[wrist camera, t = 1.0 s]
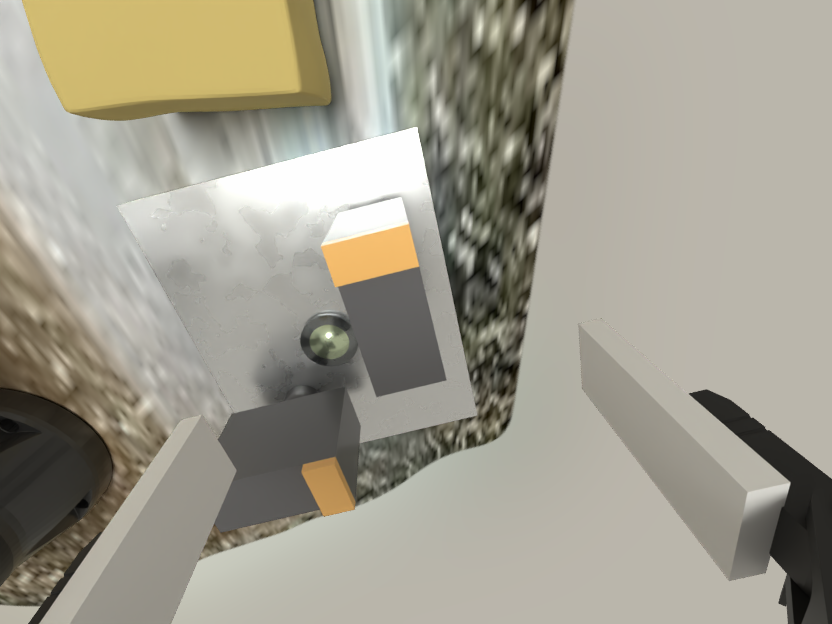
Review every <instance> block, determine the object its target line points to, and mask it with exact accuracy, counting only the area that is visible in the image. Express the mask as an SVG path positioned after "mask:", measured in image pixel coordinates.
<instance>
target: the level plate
mask: <svg viewBox="0 0 832 624" xmlns="http://www.w3.org/2000/svg"><path fill="white" fill-rule="evenodd" d="M399 197H402V201H403V204H404V208H405V212H406V215H407V219H408V222H409V226H410V230H411V234H412V238H413V243H414V247H415V251H416V255H417V259H418V263H419V268H420V272H421V276H422V280H423V284H424V288H425V293H426V297H427V301H428V305H429V309H430V313H431V317H432V321H433V326H434V330H435V334H436V338H437V342H438V346H439V350H440V355H441V359H442V363H443V367H444V371H445V375H446V379H447V380H446V381H442V382H438V383H434V384H430V385H426V386H421V387H417V388H413V389H409V390H405V391H401V392H396V393H392V394H388V395H384V396H380V397H376V394H375V392H374V389H373V386H372V383H371V380H370V377H369V374H368V372H367V369H366V366H365V363H364V360H363V357H362V354H361V351H360V349H359V346H358V343H357V340H356V337H355V334H354V331H353V329H352V326H351V323H350V320H349V317H348V314H347V311H346V308H345V306H344V303H343V300H342V297H341V294H340V291H339V288H338V287H335V286H334V283H333V280H332V277H331V274H330V271H329V269H328V266H327V263H326V260H325V257H324V254H323V251H322V249H321V245H322V243H323V241H324V239H325V237H326V235H327V234H328V232H329V230H330V228H331V226H332V224H333V222H334V220H335V218H336V217H337V215H338V213H340V212H344V211H348V210H352V209H355V208H359V207H363V206H367V205H371V204H375V203H379V202H383V201H387V200H391V199H395V198H399ZM116 206H117V207H118V209H119V211H120V213H121V215H122V216H123V218H124V220H125V222H126V223H127V225H128V227H129V229H130V230H131V232H132V234H133V236H134V238H135V239H136V241H137V243H138V245H139V246H140V248H141V250H142V252H143V253H144V255H145V257H146V259H147V261H148V262H149V264H150V266H151V268H152V269H153V271H154V273H155V275H156V276H157V278H158V280H159V282H160V284H161V285H162V287H163V289H164V291H165V292H166V294H167V296H168V298H169V299H170V301H171V303H172V305H173V306H174V308H175V310H176V312H177V314H178V315H179V317H180V319H181V321H182V322H183V324H184V326H185V328H186V329H187V331H188V333H189V335H190V337H191V338H192V340H193V342H194V344H195V345H196V347H197V349H198V351H199V352H200V354H201V356H202V358H203V360H204V361H205V363H206V365H207V367H208V368H209V370H210V372H211V374H212V375H213V377H214V379H215V381H216V383H217V384H218V386H219V388H220V390H221V391H222V393H223V395H224V397H225V398H226V400H227V402H228V404H229V405H230V407H231V409H232V411H233V413H237V412H241V411H246V410H250V409H254V408H258V407H262V406H266V405H270V404H275V403H279V402H283V401H284V399H285V397H286V394H287V392H288V391H289V390H290V389H291V388H293V387H295V386H299V385H307V386H310V387H313V388H315V389H316V390H317V391H318V392H319V393H320V392H324V391H328V390H333V389H337V388H341V387H345V386H346V389H347V391H348V394H349V396H350V399H351V402H352V404H353V407H354V409H355V412H356V414H357V417H358V420H359V422H360V425H361V430H360V443H363V442H367V441H371V440H376V439H380V438H384V437H388V436H392V435H397V434H401V433H405V432H409V431H414V430H418V429H422V428H426V427H430V426H435V425H439V424H443V423H447V422H452V421H456V420H460V419H464V418H468V417H473V416H477V412H476V407H475V402H474V397H473V393H472V388H471V383H470V378H469V373H468V369H467V364H466V359H465V354H464V350H463V345H462V340H461V335H460V331H459V326H458V321H457V316H456V312H455V307H454V302H453V297H452V292H451V288H450V283H449V278H448V273H447V269H446V264H445V259H444V254H443V250H442V245H441V240H440V235H439V230H438V226H437V221H436V216H435V211H434V207H433V202H432V197H431V192H430V188H429V183H428V178H427V173H426V169H425V164H424V159H423V154H422V149H421V145H420V140H419V135H418V130H417V127H414V128H410V129H406V130H403V131H399V132H395V133H391V134H387V135H383V136H379V137H376V138H372V139H368V140H364V141H360V142H356V143H352V144H349V145H345V146H341V147H337V148H333V149H329V150H326V151H322V152H318V153H314V154H310V155H306V156H302V157H299V158H295V159H291V160H287V161H283V162H279V163H276V164H272V165H268V166H264V167H260V168H256V169H252V170H249V171H245V172H241V173H237V174H233V175H229V176H225V177H222V178H218V179H214V180H210V181H206V182H202V183H199V184H195V185H191V186H187V187H183V188H179V189H175V190H172V191H168V192H164V193H160V194H156V195H152V196H149V197H145V198H141V199H137V200H133V201H130V202H126V203H123V204H119V205H116Z"/></svg>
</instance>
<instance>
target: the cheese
mask: <svg viewBox="0 0 832 624" xmlns="http://www.w3.org/2000/svg"><path fill="white" fill-rule="evenodd" d="M22 2H23V5H24V9H25V12H26V15H27V18H28V22H29V25H30V28H31V31H32V34H33V37H34V41H35V44H36V47H37V50H38V52H39V55H40V58H41V60H42V63H43V65H44V68H45V71H46V73H47V75H48V77H49V80H50V82H51V84H52V86H53V88H54V90H55V92H56V94H57V96H58V98H59V100H60V102H61V104H62V105H63V107H64V109H65V110H66V111H67V112H69V113H72V114H75V115H79V116H83V117H88V118H95V119H101V120H115V121H122V120H134V119H140V118H146V117H151V116H156V115H162V114H168V113H175V112H210V111H240V110H255V109H270V108H283V107H299V106H325V105H328V104H330V102H331V87H330V79H329V73H328V68H327V63H326V59H325V55H324V51H323V48H322V44H321V40H320V36H319V31H318V25H317V20H316V14H315V8H314V2H313V0H22Z"/></svg>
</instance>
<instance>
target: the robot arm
mask: <svg viewBox="0 0 832 624" xmlns="http://www.w3.org/2000/svg"><path fill="white" fill-rule="evenodd" d="M579 341H580V360H581V378H582V389H583V390H584V392H585V393H586V395H587V396H588V397H589V398H590V400H591V401H592V402H593V404H594V405H595V406H596V408H597V409H598V410H599V412H600V413H601V414H602V416H603V417H604V418H605V419H606V421H607V422H608V423H609V425H610V426H611V427H612V429H613V430H614V431H615V433H616V434H617V435H618V436H619V437H620V439H621V440H622V442H623V443H624V444H625V446H626V447H627V448H628V450H629V451H630V452H631V453H632V455H633V456H634V457H635V458H636V460H637V461H638V462H639V464H640V465H641V467H642V468H643V469H644V470H645V472H646V473H647V474H648V476H649V477H650V478H651V479H652V481H653V482H654V483H655V485H656V486H657V487H658V489H659V490H660V491H661V493H662V494H663V495H664V497H665V498H666V499H667V500H668V501H669V503H670V504H671V506H672V507H673V508H674V510H675V511H676V512H677V514H678V515H679V516H680V517H681V519H682V520H683V521H684V523H685V524H686V525H687V527H688V528H689V529H690V530H691V532H692V533H693V534H694V536H695V537H696V538H697V540H698V541H699V542H700V544H701V545H702V546H703V548H704V549H705V550H706V551H707V553H708V554H709V555H710V556H711V558H712V559H713V561H714V562H715V563H716V565H717V566H718V567H719V568H720V570H721V571H722V572H723V574H724V575H725V576H726V578H727V579H728V580H729V581H731V580H736V579H740V578H745V577H750V576H754V575H759V574H763V573H766V570H767V567H768V563H769V559H770V556H772V557H773V558H774V560H775V561H776V562H777V563H778V564H779V565H780V566H781V567H782V568H783V569H784V571H785V572H786V573H787V576H786V579H785V582H784V585H783V588H782V592H781V595H780V599H779V604H781V605H783V606H786V604H787V615H788V624H832V479H831V478H830V477H828V476H827V475H826V474H825V473H823V472H822V471H821V470H819V469H818V468H817V467H815V466H814V465H813V464H812V463H810V462H809V461H808V460H807V459H805V458H804V457H803V456H802V455H800V454H799V453H798V452H796V451H795V450H794V449H793V448H791V447H790V446H789V445H787V444H786V443H785V442H783V441H782V440H781V439H780V438H779V437H777V436H776V435H775V434H773V433H772V432H771V431H769V430H768V431H767V430H766V429H765V427H764V426H763V425H762V424H761V423H759V422H758V421H757V420H755V419H754V418H751V417H750V416H749V414H748V413H746V412H745V411H744V410H742V409H741V408H740V407H739V406H737V405H736V404H735V403H734V402H732V401H731V400H729V399H727V398H725V397H723V396H720V395H718V394H716V393H713V392H711V391H709V390H702V391H698V392H693V393H689V394H688V393H687V392H686V391H684V390H683V389H682V388H681V387H680V386H679V385H678V384H676V383H675V382H674V381H673V380H672V379H671V378H670V377H668V376H667V375H666V374H665V373H664V372H663V371H661V370H660V369H659V368H658V367H657V366H656V365H655V364H653V363H652V362H651V361H650V360H649V359H648V358H646V357H645V356H644V355H643V354H642V353H641V352H640V351H638V350H637V349H636V348H635V347H634V346H633V345H631V344H630V343H629V342H628V341H627V340H626V339H625V338H623V337H622V336H621V335H620V334H619V333H617V331H615V330H614V329H613V328H612V327H611V326H610V325H608V324H607V323H606V322H605V321H604V320H603V319H602V318H600V319H596V320H592V321H588V322H583V323H579ZM236 471H237V470H236V468H235V467H234V465H233V464H232V462H231V460H230V459H229V457H228V455H227V454H226V452H225V451H224V449H223V447H222V446H221V444H220V442H219V441H218V439H217V437H216V436H215V434H214V433H213V431H212V429H211V428H210V426H209V424H208V423H207V421H206V420H205V418H204V416H203V415H199V416H194V417H190V418H186V419H182V420H181V421H180V422H179V424H178V425H177V426H176V428H175V429H174V431H173V432H172V434H171V435H170V436H169V438H168V439H167V441H166V442H165V444H164V445H163V447H162V448H161V449H160V451H159V452H158V454H157V455H156V457H155V458H154V459H153V461H152V462H151V464H150V465H149V467H148V468H147V470H146V471H145V472H144V474H143V475H142V477H141V478H140V480H139V481H138V482H137V484H136V485H135V487H134V488H133V490H132V491H131V492H130V494H129V495H128V497H127V498H126V500H125V501H124V503H123V504H122V505H121V507H120V508H119V510H118V511H117V513H116V514H115V515H114V517H113V518H112V520H111V521H110V523H109V524H108V526H107V527H106V528H105V530H104V531H103V532H100V533H99V534H98V535H97V536H96V537H95V538H94V539H93V540H92V541H91V542H90V543H89V544H88V545H87V546H86V547H85V548H84V549H83V550H82V551H81V552H80V553H79V554H78V555H77V557H76V558H75V559H74V561H73V562H72V564H71V565H70V566H69V568H68V569H67V571H66V572H65V573H64V578H61V579H60V580H59V582H58V583H57V584H56V586H55V587H54V589H53V590H52V591H51V596H50V597H47V598H46V600H45V601H44V603H43V604H42V605H41V607H40V608H39V610H38V611H37V612H36V614H35V615H34V617H33V618H32V619H31V621H30V622H29V623H28V624H171V622H172V620H173V618H174V615H175V613H176V611H177V608H178V606H179V604H180V601H181V599H182V597H183V594H184V592H185V590H186V588H187V585H188V583H189V581H190V578H191V576H192V574H193V571H194V569H195V566H196V564H197V562H198V560H199V557H200V555H201V553H202V550H203V548H204V546H205V543H206V541H207V539H208V536H209V534H210V532H211V529H212V527H213V525H214V522H215V520H216V518H217V515H218V513H219V511H220V508H221V506H222V504H223V501H224V499H225V497H226V494H227V492H228V490H229V487H230V485H231V483H232V481H233V478H234V476H235V474H236ZM111 477H112V463H111V459H110V456H109V453H108V451H107V449H106V447H105V445H104V444H103V442H102V441H101V439H100V438H99V437H98V436H97V434H96V433H95V432H94V431H93V430H92V429H91V428H90V427H89V426H88V425H87V424H85V423H84V422H83V421H82V420H80V419H79V418H78V417H76V416H75V415H73V414H72V413H70V412H69V411H67V410H65V409H63V408H62V407H60V406H58V405H56V404H54V403H51V402H49V401H47V400H44V399H42V398H39V397H36V396H33V395H30V394H26V393H22V392H18V391H13V390H6V389H0V586H1V585H2V584H3V583H4V581H5V580H6V579H7V578H8V577H9V576H10V574H11V573H12V572H13V571H14V570H15V569H16V568H17V567H18V566H19V565H21V564H22V563H23V562H25V561H26V560H27V559H29V558H30V557H31V556H33V555H34V554H35V553H37V552H38V551H39V550H41V549H42V548H43V547H45V546H46V545H47V544H49V543H50V542H51V541H53V540H54V539H55V538H57V537H58V536H59V535H61V534H62V533H63V532H65V531H66V530H67V529H68V528H70V527H71V526H72V525H74V524H75V523H76V522H78V521H79V520H80V519H82V518H83V517H84V516H85V515H86V514H87V513H88V512H89V511H90V510H91V509H92V508H93V506H94V505H95V504H96V502H97V501H98V500H99V499H100V497H101V496H102V495H103V493H104V492H105V491H106V489H107V488H108V486H109V483H110V481H111Z"/></svg>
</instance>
